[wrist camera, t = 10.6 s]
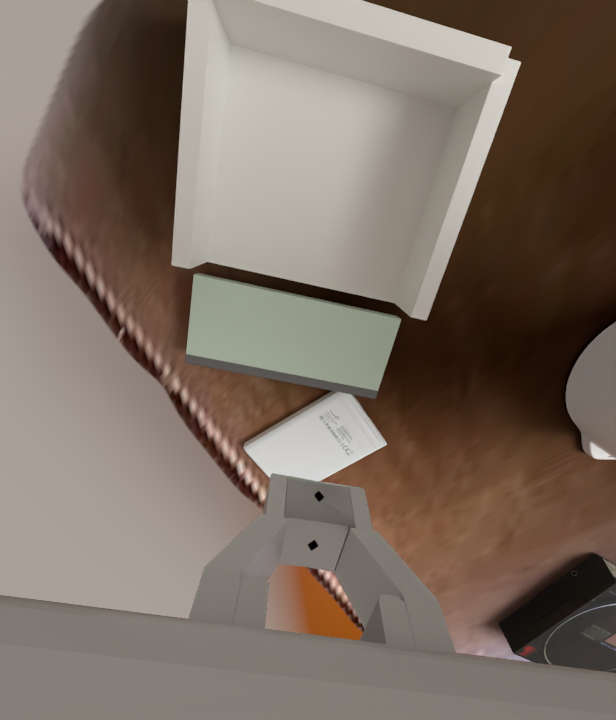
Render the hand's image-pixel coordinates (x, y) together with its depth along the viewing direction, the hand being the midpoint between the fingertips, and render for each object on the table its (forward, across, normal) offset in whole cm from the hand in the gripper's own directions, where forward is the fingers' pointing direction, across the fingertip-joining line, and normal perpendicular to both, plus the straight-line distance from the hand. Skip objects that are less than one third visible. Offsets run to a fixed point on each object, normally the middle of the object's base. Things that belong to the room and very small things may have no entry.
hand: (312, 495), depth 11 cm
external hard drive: (+22, -3, +13) cm, 25 cm away
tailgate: (+19, +1, -2) cm, 19 cm away
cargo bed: (+21, +1, -11) cm, 23 cm away
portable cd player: (+22, -46, +33) cm, 61 cm away
